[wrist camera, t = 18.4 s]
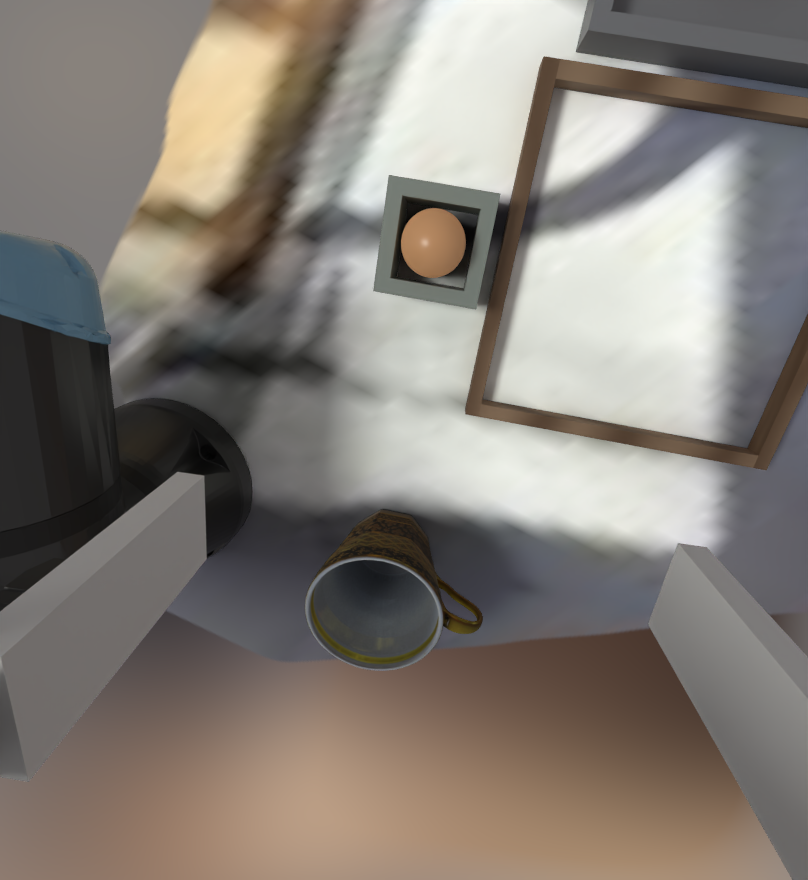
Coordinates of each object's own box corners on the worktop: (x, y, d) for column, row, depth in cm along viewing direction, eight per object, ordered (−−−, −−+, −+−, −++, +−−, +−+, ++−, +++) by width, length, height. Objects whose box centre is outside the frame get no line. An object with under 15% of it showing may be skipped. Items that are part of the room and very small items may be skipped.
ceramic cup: (330, 575, 46) (298, 655, 36) (343, 481, 42) (311, 543, 33) (466, 604, 45) (468, 692, 36) (490, 511, 42) (500, 582, 32)
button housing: (381, 288, 36) (373, 291, 33) (396, 184, 34) (389, 175, 30) (474, 304, 36) (476, 309, 32) (495, 201, 34) (500, 193, 30)
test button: (403, 271, 35) (396, 271, 31) (412, 209, 33) (406, 202, 29) (458, 280, 34) (458, 282, 31) (470, 219, 33) (471, 214, 29)
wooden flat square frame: (465, 408, 39) (465, 414, 37) (540, 65, 31) (543, 56, 29) (754, 462, 38) (766, 470, 37) (910, 124, 30) (933, 117, 28)
